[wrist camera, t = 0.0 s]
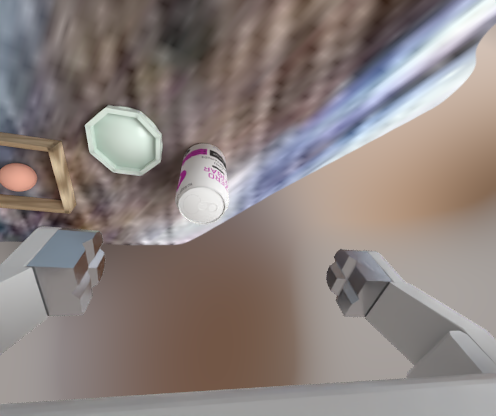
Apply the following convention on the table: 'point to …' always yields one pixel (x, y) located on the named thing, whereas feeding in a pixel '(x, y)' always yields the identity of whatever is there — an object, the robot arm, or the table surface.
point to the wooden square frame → (60, 174)
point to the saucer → (124, 140)
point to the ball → (17, 177)
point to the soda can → (202, 185)
